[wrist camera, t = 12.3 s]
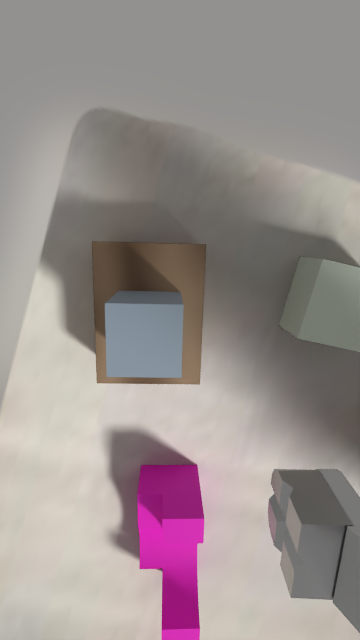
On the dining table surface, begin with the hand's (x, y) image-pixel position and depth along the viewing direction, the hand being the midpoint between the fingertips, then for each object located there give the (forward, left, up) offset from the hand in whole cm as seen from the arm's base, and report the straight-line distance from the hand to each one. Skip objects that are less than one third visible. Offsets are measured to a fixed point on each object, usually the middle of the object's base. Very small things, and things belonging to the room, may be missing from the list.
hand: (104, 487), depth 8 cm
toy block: (-2, +26, -25) cm, 36 cm away
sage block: (-17, -1, -25) cm, 30 cm away
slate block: (0, 0, -19) cm, 19 cm away
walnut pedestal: (0, 0, -24) cm, 24 cm away
